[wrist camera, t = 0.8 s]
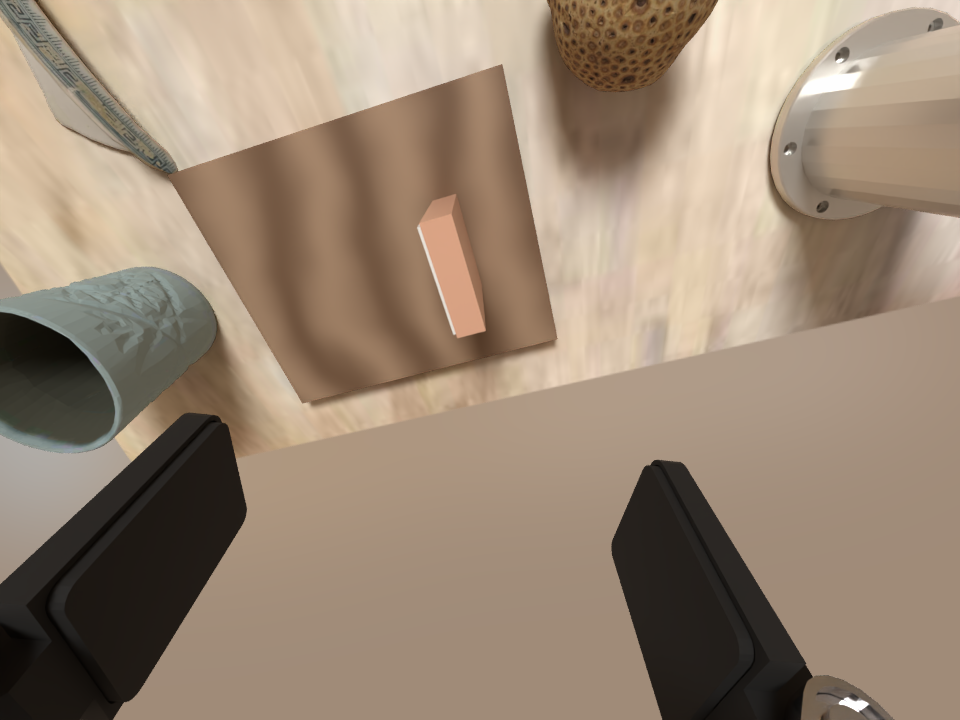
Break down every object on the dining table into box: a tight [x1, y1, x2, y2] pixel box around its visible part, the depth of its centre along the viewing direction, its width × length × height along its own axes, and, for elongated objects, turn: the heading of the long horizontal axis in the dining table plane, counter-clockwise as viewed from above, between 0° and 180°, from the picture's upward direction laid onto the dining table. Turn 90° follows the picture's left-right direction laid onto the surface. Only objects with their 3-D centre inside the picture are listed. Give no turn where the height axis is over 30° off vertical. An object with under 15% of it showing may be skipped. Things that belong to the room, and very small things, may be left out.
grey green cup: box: [0, 267, 217, 453], centre depth 29 cm, size 10×10×12 cm
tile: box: [417, 194, 486, 338], centre depth 27 cm, size 2×7×9 cm, turn 15°
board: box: [167, 64, 557, 403], centre depth 32 cm, size 24×20×2 cm
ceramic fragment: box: [0, 0, 178, 174], centre depth 25 cm, size 14×5×4 cm, turn 26°
